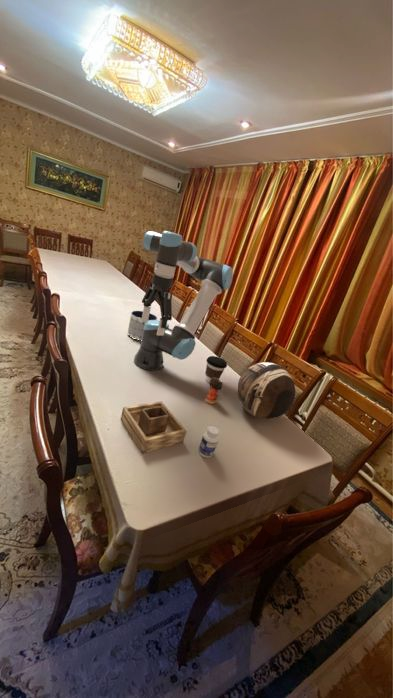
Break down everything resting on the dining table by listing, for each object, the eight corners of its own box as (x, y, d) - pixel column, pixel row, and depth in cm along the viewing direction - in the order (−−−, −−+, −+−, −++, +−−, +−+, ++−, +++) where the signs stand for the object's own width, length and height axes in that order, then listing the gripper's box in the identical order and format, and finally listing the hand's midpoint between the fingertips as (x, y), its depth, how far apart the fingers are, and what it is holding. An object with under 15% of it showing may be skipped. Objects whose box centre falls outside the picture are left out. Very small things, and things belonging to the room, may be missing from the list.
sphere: (251, 434, 117) (273, 381, 108) (220, 399, 137) (236, 351, 128) (294, 428, 130) (316, 380, 121) (260, 396, 150) (277, 353, 141)
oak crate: (158, 411, 114) (161, 401, 113) (183, 442, 102) (186, 430, 100) (120, 418, 105) (123, 407, 103) (142, 453, 92) (145, 440, 90)
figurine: (218, 401, 134) (226, 378, 130) (215, 406, 129) (223, 383, 125) (206, 395, 136) (213, 373, 132) (202, 401, 131) (209, 378, 126)
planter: (150, 344, 175) (155, 322, 170) (124, 337, 174) (128, 315, 169) (154, 335, 190) (158, 315, 185) (130, 329, 189) (134, 308, 184)
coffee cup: (225, 383, 153) (231, 363, 149) (212, 387, 145) (218, 366, 140) (209, 373, 159) (216, 354, 155) (196, 377, 151) (202, 357, 147)
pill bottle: (197, 445, 102) (204, 423, 99) (212, 448, 103) (219, 426, 100) (198, 456, 97) (206, 433, 94) (214, 459, 98) (222, 436, 95)
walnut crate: (157, 421, 107) (161, 405, 105) (165, 431, 103) (169, 415, 101) (137, 425, 102) (141, 409, 100) (145, 436, 98) (149, 419, 96)
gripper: (140, 266, 114) (130, 316, 122) (171, 283, 97) (158, 341, 104) (156, 268, 119) (146, 317, 127) (189, 286, 102) (175, 341, 109)
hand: (151, 328), depth 116 cm, fingers open, 13 cm apart
